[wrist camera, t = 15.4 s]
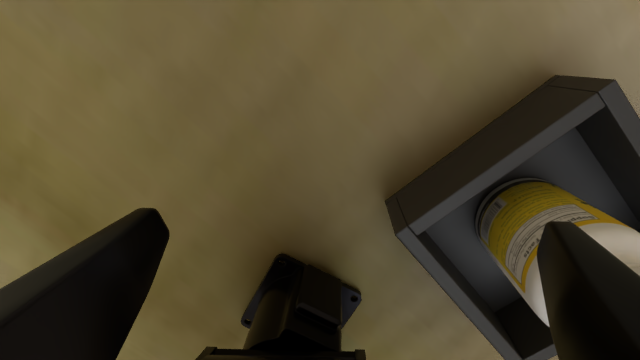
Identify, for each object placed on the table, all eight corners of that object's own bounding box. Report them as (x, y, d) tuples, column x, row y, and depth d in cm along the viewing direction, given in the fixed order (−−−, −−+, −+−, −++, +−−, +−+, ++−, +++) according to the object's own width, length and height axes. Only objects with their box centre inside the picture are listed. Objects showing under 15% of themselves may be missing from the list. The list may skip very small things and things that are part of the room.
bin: (487, 320, 25) (518, 375, 20) (384, 201, 22) (394, 234, 18) (654, 224, 22) (730, 265, 17) (555, 74, 19) (615, 79, 15)
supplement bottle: (577, 236, 22) (753, 368, 12) (489, 268, 23) (591, 413, 13) (551, 159, 20) (728, 244, 11) (459, 197, 21) (550, 304, 12)
